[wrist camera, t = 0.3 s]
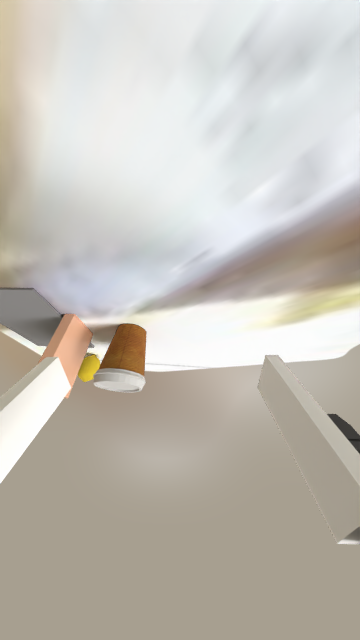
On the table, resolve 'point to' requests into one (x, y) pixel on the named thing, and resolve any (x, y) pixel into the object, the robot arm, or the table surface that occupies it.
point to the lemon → (88, 368)
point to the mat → (29, 315)
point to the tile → (69, 346)
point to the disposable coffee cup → (123, 361)
